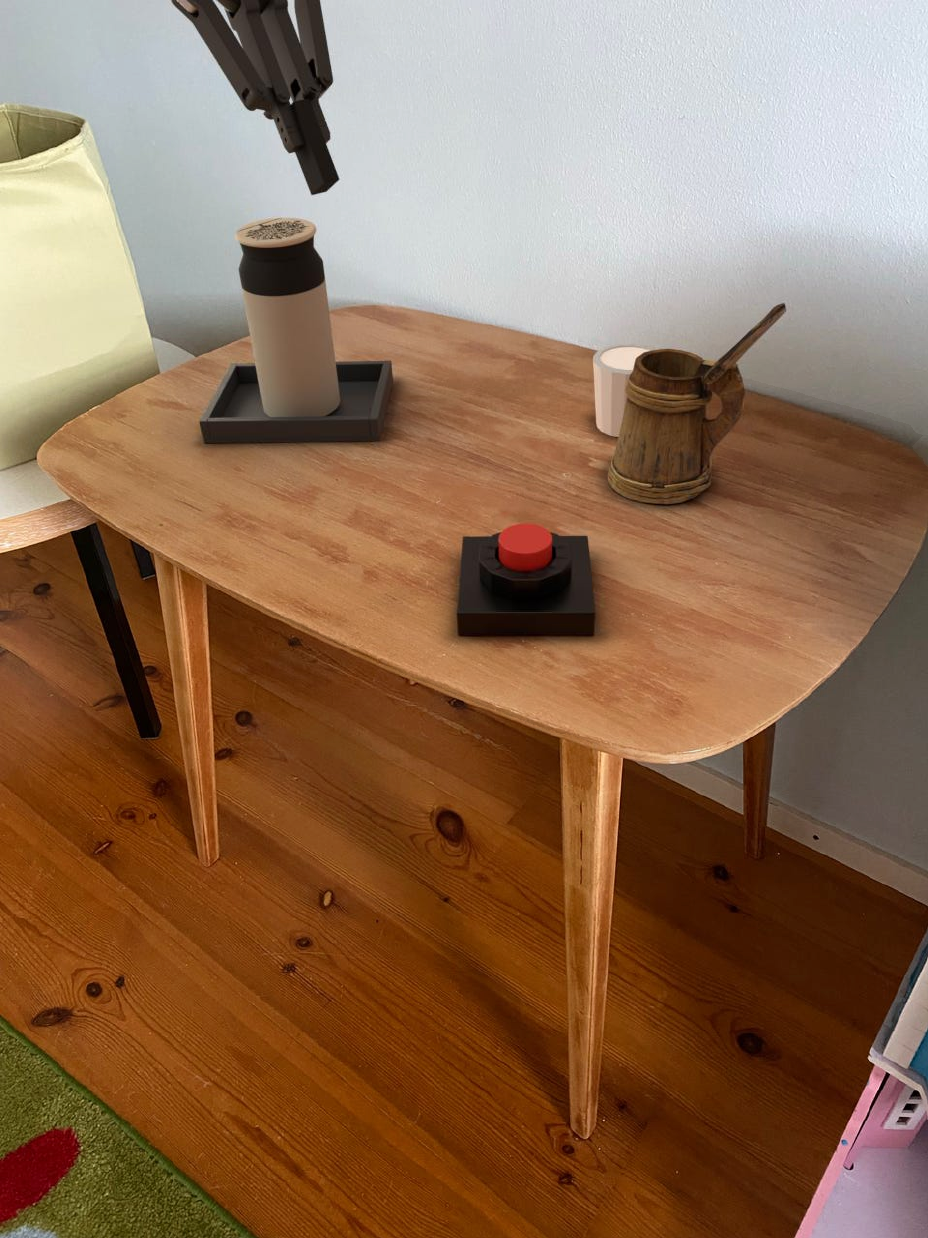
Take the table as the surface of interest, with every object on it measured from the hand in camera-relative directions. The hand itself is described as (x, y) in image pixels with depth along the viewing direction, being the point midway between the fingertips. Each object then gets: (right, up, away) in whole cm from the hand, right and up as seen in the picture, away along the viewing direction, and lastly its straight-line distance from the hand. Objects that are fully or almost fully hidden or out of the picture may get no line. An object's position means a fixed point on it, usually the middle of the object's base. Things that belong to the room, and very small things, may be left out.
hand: (325, 186), depth 82 cm
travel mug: (-5, -14, +21) cm, 26 cm away
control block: (+16, -34, -5) cm, 38 cm away
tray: (-5, -14, +21) cm, 26 cm away
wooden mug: (+31, -24, +7) cm, 40 cm away
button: (+16, -31, -7) cm, 36 cm away
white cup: (+27, -17, +16) cm, 36 cm away
